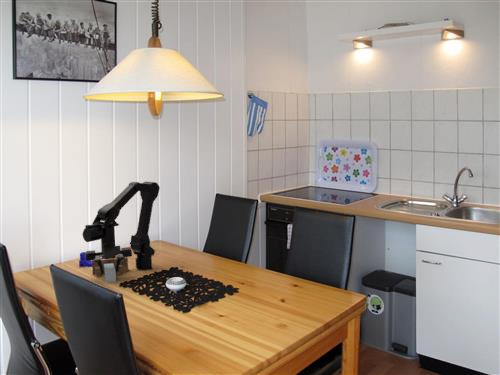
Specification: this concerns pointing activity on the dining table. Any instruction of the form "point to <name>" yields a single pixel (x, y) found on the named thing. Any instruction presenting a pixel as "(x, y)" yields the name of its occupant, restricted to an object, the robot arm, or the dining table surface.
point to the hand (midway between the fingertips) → (109, 273)
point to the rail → (109, 273)
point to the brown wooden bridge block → (122, 266)
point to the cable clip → (85, 261)
